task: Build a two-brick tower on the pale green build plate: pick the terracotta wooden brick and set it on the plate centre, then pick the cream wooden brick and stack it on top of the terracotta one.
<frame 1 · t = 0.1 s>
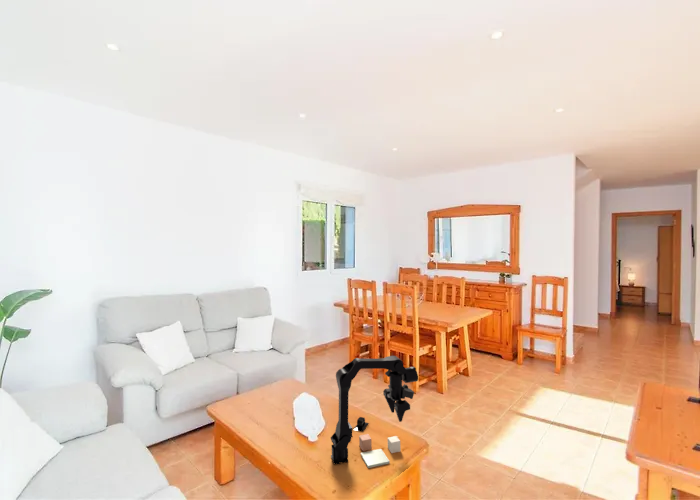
hand: (396, 416, 171), 15 cm above the table, fingers open, 9 cm apart
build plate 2: (361, 427, 192), on the table
terracotta brick: (365, 447, 172), on the table
cream brick: (394, 449, 170), on the table
build plate: (374, 459, 163), on the table
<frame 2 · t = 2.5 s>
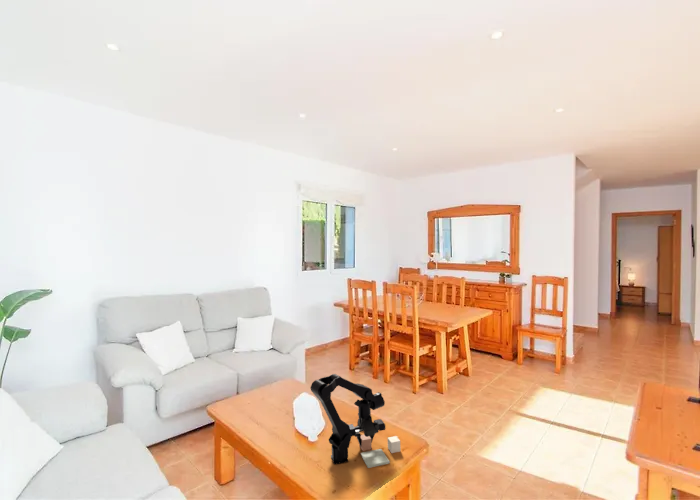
hand: (365, 445, 172), 1 cm above the table, fingers closed on terracotta brick, 4 cm apart
terracotta brick: (365, 447, 172), on the table, touching gripper
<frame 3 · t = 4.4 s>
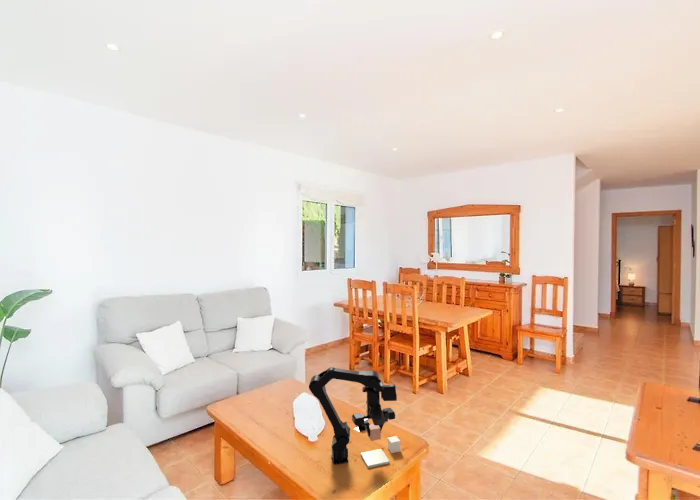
hand: (374, 435, 163), 11 cm above the table, fingers closed on terracotta brick, 4 cm apart
terracotta brick: (374, 437, 163), point 10 cm above the table, touching gripper
when the fingers open (3 cm above the table, at t = 6.1 s): terracotta brick stays where it is, resting on build plate.
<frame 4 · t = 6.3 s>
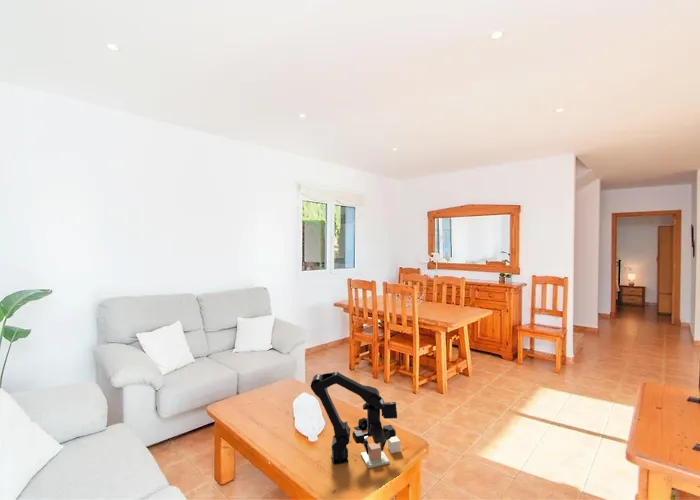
hand: (374, 452, 163), 3 cm above the table, fingers open, 6 cm apart
terracotta brick: (374, 456, 163), point 1 cm above the table, touching build plate
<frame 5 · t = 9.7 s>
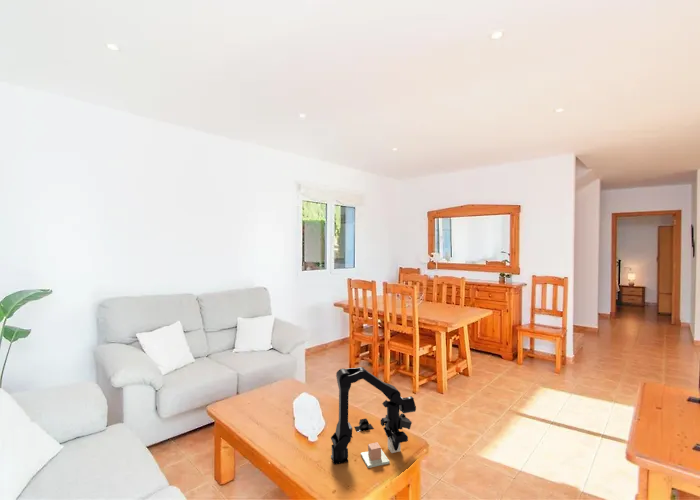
hand: (394, 447, 170), 1 cm above the table, fingers closed on cream brick, 4 cm apart
cream brick: (394, 449, 170), on the table, touching gripper
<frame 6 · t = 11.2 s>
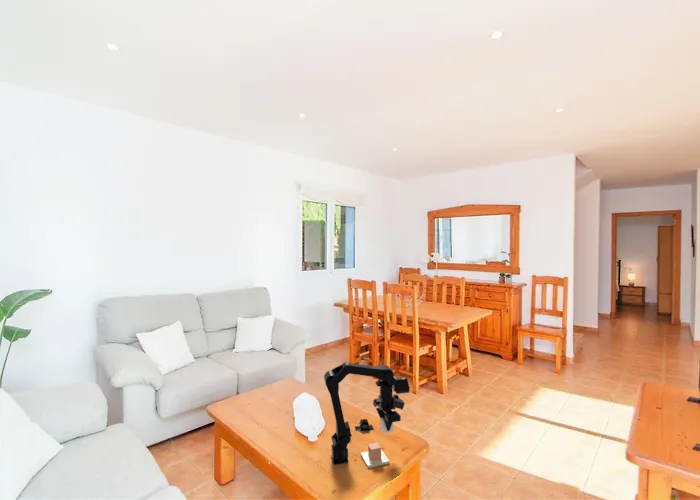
hand: (386, 427, 167), 12 cm above the table, fingers closed on cream brick, 4 cm apart
cream brick: (386, 430, 167), point 11 cm above the table, touching gripper
when the fingers open (8 cm above the table, at t = 12.9 s): cream brick stays where it is, resting on terracotta brick.
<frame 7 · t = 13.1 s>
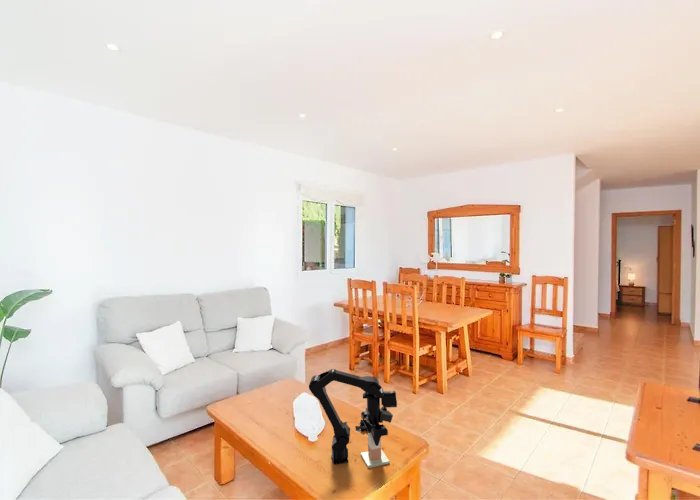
hand: (374, 441, 163), 8 cm above the table, fingers open, 6 cm apart
terracotta brick: (374, 456, 163), point 1 cm above the table, touching build plate, cream brick
cream brick: (374, 445, 163), point 6 cm above the table, touching terracotta brick
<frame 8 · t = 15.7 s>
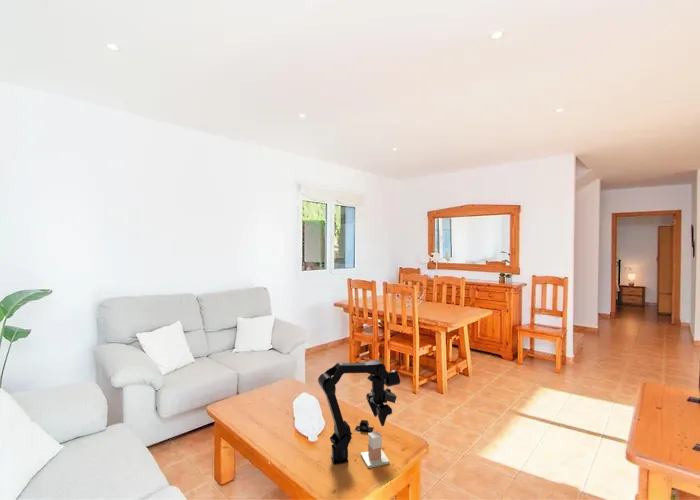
hand: (379, 421, 171), 13 cm above the table, fingers open, 9 cm apart
at the end: terracotta brick inside the target area on the build plate (0.0 cm from its centre), point 1.0 cm above the build plate's base; cream brick 0.4 cm off-centre on the terracotta brick, point 5.0 cm above the terracotta brick's base; cream brick tilted 0° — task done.
